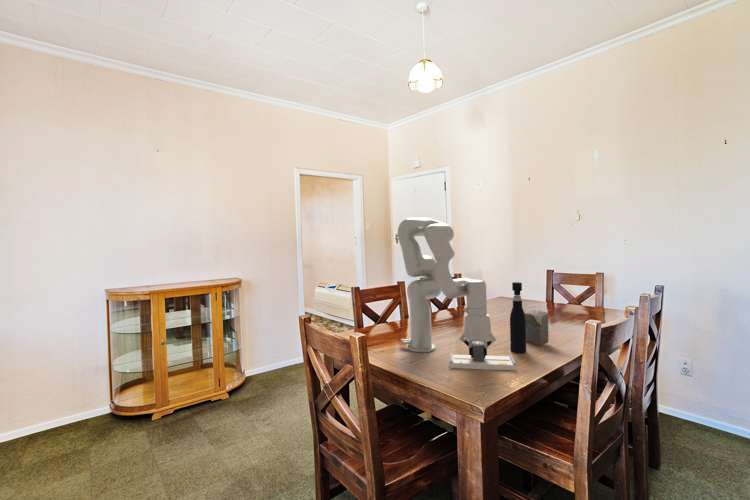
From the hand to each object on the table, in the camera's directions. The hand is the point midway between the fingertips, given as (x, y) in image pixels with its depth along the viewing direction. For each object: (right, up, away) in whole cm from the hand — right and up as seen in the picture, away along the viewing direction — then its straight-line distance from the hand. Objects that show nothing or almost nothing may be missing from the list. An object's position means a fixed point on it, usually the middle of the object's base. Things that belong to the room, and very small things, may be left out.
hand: (478, 356), depth 143 cm
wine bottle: (+22, -2, +14) cm, 26 cm away
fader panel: (+1, -3, 0) cm, 3 cm away
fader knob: (0, -1, 0) cm, 1 cm away
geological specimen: (+34, -1, +26) cm, 43 cm away
